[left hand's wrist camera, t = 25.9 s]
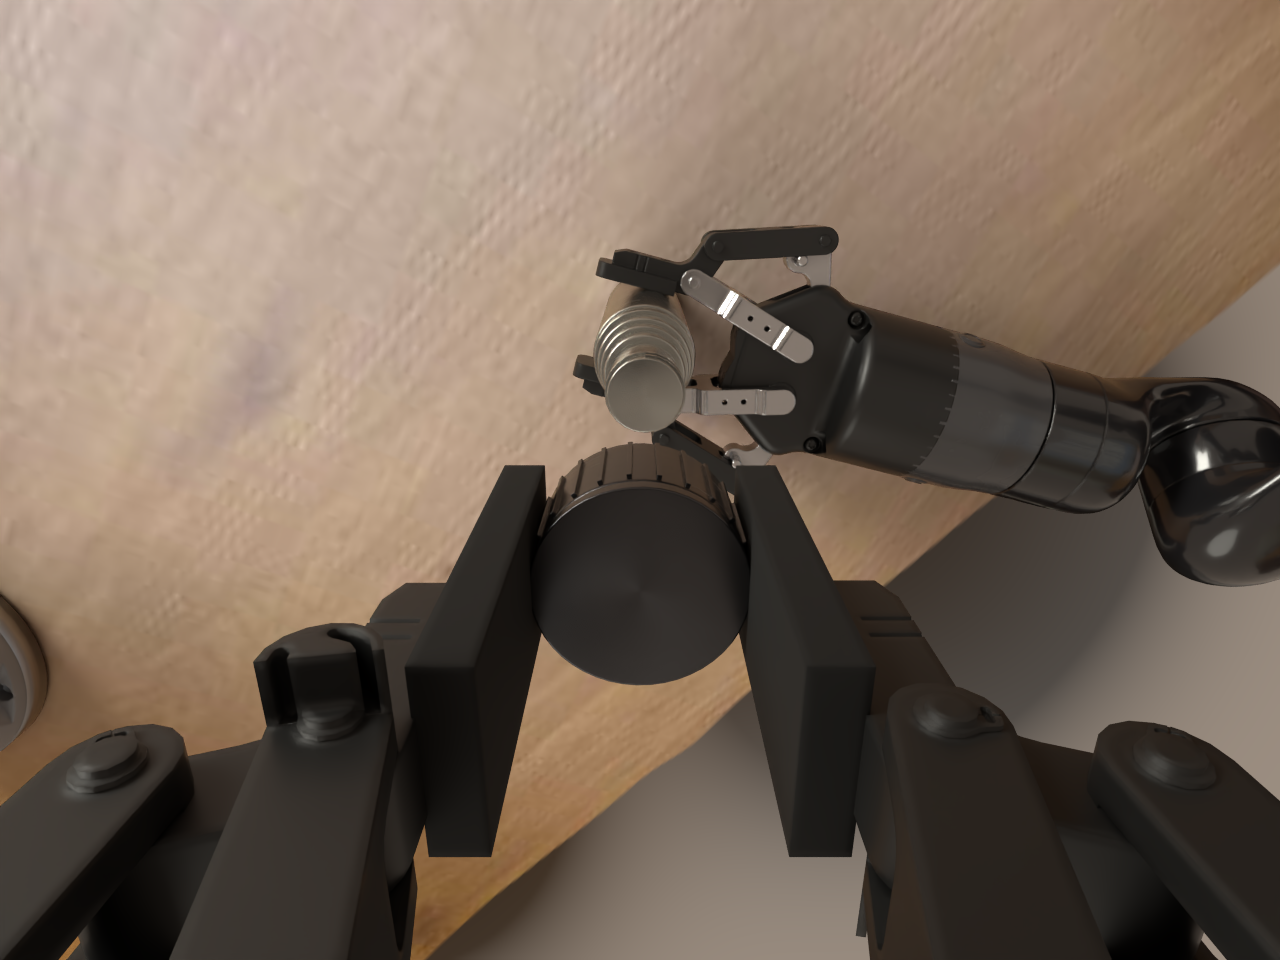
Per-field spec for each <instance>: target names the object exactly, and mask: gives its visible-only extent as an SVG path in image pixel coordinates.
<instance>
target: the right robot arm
mask: <svg viewBox="0 0 1280 960" xmlns="http://www.w3.org/2000/svg"><path fill="white" fill-rule="evenodd" d="M838 242H839V238H838V234H837V232H836V231H835V230H834V229H832V228H830V227H826V226H821V225H802V226H784V227H766V228H748V229H730V230H713V231H709V232H707V233H706V234H705V235H704V236H703V237H702V240H701V243H700V245H699V246H698V248H697V249H696V250H695V252H694V253H693V255H692V256H691V257H690V258H689V259H688V260H686V261H683V262H674V261H670V260H666V259H663V258H659V257H655V256H652V255H648V254H644V253H641V252H637V251H633V250H630V249H621V250H615V252H614V256H613V260H611V259H607V258H600V259H599V262H598V267H597V271H596V275H597V276H599V277H602V278H606V279H609V280H613V281H617V282H621V283H624V284H628V285H632V286H635V287H639V288H643V289H647V290H651V291H656V292H659V293H661V294H665V295H669V296H673V297H674V294H675V292H677V293H681V294H684V295H688V296H690V297H692V298H693V299H695V300H697V301H698V302H700V303H701V304H703V305H705V306H706V307H708V308H710V309H711V310H713V311H714V312H716V313H718V314H719V315H720V316H722V317H723V318H724V319H726V320H728V321H729V322H731V323H732V324H733V328H732V331H731V338H730V351H729V353H728V354H727V356H726V358H725V359H724V361H723V362H722V364H721V367H720V371H719V374H703V375H696V376H693V377H691V379H690V381H689V383H688V385H687V387H686V388H685V390H686V397H685V404H684V406H683V409H682V411H681V413H698V414H700V415H734V416H735V417H736V418H737V419H738V421H739V422H740V423H741V424H742V426H743V427H744V428H745V429H746V431H747V432H748V433H749V434H750V436H751V437H752V438H753V439H754V442H753V443H752V444H750V445H747V446H742V445H739V444H737V443H730V444H727V445H726V446H725V447H724V448H721V447H719V446H718V445H716V444H714V443H713V442H711V441H710V440H708V439H706V438H705V437H703V436H701V435H700V434H698V433H697V432H695V431H693V430H692V429H690V428H688V427H687V426H685V425H684V424H682V423H680V422H679V421H677V420H675V421H674V422H673V423H671V424H670V425H668V426H667V427H666V428H663V429H661V430H658V431H656V432H651V433H652V443H653V444H655V443H660V445H661V446H665V447H669V448H672V449H675V450H678V451H681V450H684V451H685V452H686V454H687V455H689V456H691V457H693V458H694V459H696V460H697V461H699V462H700V463H701V464H704V463H705V464H707V465H708V468H709V470H710V471H711V472H712V473H713V474H714V475H715V477H716V478H717V479H718V480H719V481H720V482H722V481H723V482H724V483H725V486H726V489H727V491H728V492H730V493H731V494H733V495H734V492H735V471H736V465H766V463H767V462H768V460H769V459H770V458H771V456H772V455H783V454H787V453H791V452H806V453H810V454H813V455H817V456H821V457H825V458H829V459H833V460H837V461H841V462H845V463H848V464H852V465H856V466H860V467H864V468H868V469H872V470H876V471H880V472H884V473H888V474H892V475H896V476H900V477H902V478H904V479H905V480H908V481H911V482H915V483H919V484H921V483H928V484H932V485H936V486H940V487H945V488H952V489H960V490H970V491H978V492H983V493H989V494H992V495H996V496H1000V497H1004V498H1008V499H1012V500H1016V501H1019V502H1023V503H1027V504H1031V505H1035V506H1039V507H1043V508H1048V509H1053V510H1058V511H1062V512H1067V513H1074V514H1085V513H1095V512H1100V511H1102V510H1105V509H1108V508H1110V507H1112V506H1113V505H1115V504H1117V503H1118V502H1119V501H1121V500H1122V499H1123V498H1124V497H1125V496H1126V495H1127V494H1128V493H1129V492H1130V491H1131V490H1132V489H1133V488H1134V486H1135V485H1136V483H1137V482H1138V486H1139V489H1140V493H1141V496H1142V499H1143V503H1144V506H1145V510H1146V513H1147V517H1148V520H1149V523H1150V527H1151V530H1152V534H1153V537H1154V540H1155V543H1156V546H1157V548H1158V550H1159V552H1160V554H1161V556H1162V557H1163V559H1164V560H1165V562H1166V563H1167V564H1168V565H1169V566H1170V567H1171V568H1172V569H1173V570H1175V571H1176V572H1178V573H1179V574H1181V575H1183V576H1185V577H1187V578H1189V579H1191V580H1194V581H1198V582H1201V583H1205V584H1210V585H1218V586H1228V587H1238V586H1251V585H1258V584H1264V583H1268V582H1271V581H1275V580H1279V579H1280V408H1279V407H1278V406H1277V405H1276V404H1275V403H1274V402H1273V401H1272V400H1270V399H1269V398H1267V397H1266V396H1265V395H1263V394H1261V393H1260V392H1258V391H1256V390H1254V389H1252V388H1250V387H1248V386H1245V385H1243V384H1240V383H1238V382H1234V381H1231V380H1226V379H1220V378H1207V377H1184V378H1183V377H1182V378H1155V377H1133V378H1102V377H1099V376H1096V375H1093V374H1090V373H1087V372H1083V371H1079V370H1076V369H1072V368H1068V367H1065V366H1061V365H1057V364H1054V363H1050V362H1046V361H1043V360H1039V359H1035V358H1032V357H1029V356H1026V355H1024V354H1021V353H1019V352H1017V351H1014V350H1012V349H1010V348H1008V347H1005V346H1003V345H1001V344H998V343H995V342H992V341H989V340H986V339H982V338H978V337H976V336H974V335H972V334H968V333H960V332H956V331H953V330H949V329H945V328H941V327H938V326H934V325H931V324H927V323H923V322H919V321H916V320H912V319H909V318H905V317H901V316H898V315H894V314H890V313H887V312H883V311H879V310H876V309H872V308H869V307H865V306H861V305H858V304H854V303H851V302H849V301H847V300H846V299H845V298H844V297H843V296H842V295H841V294H840V293H839V292H838V291H837V290H836V289H834V288H833V287H830V282H831V254H832V252H833V251H834V250H835V249H836V247H837V245H838ZM780 257H783V262H784V265H785V266H786V268H787V269H789V270H791V271H793V272H795V273H802V274H803V275H804V276H805V278H806V281H807V285H805V286H802V287H799V288H797V289H794V290H792V291H789V292H787V293H784V294H781V295H779V296H776V297H774V298H771V299H769V300H766V301H763V302H761V303H758V304H757V303H756V302H754V301H752V300H751V299H749V298H748V297H746V296H744V295H743V294H741V293H740V292H738V291H736V290H735V289H733V288H732V287H730V286H728V285H726V284H725V283H723V282H721V281H720V280H718V279H717V278H715V277H713V276H714V274H715V273H716V271H717V270H718V269H719V267H720V266H721V264H722V263H723V261H725V260H743V259H761V258H780ZM573 375H574V376H576V377H578V378H581V379H584V383H583V388H584V389H586V390H587V391H588V392H590V393H591V394H594V395H598V396H603V397H605V390H604V388H603V387H602V385H601V384H600V382H599V380H598V377H597V374H596V371H595V365H594V358H593V357H591V356H587V355H578V357H577V359H576V363H575V367H574V371H573ZM717 386H719V387H717ZM722 401H724V402H722Z"/></svg>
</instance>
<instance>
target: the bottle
mask: <svg viewBox="0 0 1280 960" xmlns="http://www.w3.org/2000/svg"><path fill="white" fill-rule="evenodd" d="M593 358H594V365H595V371H596V374H597V377H598V380H599V382H600V384H601V385H602V387H603V388H604V390H605V400H606V405H607V407H608V409H609V411H610V413H611V415H612V416H613V417H614V418H615V420H616V421H617V422H618V423H620V424H621V425H623V426H624V427H625V428H628V429H630V430H633V431H636V432H644V433H648V432H656V431H658V430H661V429H663V428H666V427H667V426H668V425H670V424H671V423H673V422H674V421H675V420H676V418H677V417H678V416H679V415H680V413H681V411H682V409H683V406H684V404H685V397H686V390H685V388H686V387H687V385H688V383H689V381H690V379H691V377H692V374H693V370H694V364H695V346H694V342H693V338H692V335H691V333H690V330H689V327H688V324H687V322H686V319H685V316H684V313H683V310H682V308H681V305H680V302H679V299H678V297H677V295H676V293H675V294H674V297H673V296H669V295H665V294H661V293H659V292H656V291H651V290H647V289H643V288H639V287H635V286H632V285H628V284H624V283H619V284H618V285H617V286H616V287H615V289H614V290H613V291H612V293H611V295H610V297H609V299H608V303H607V306H606V309H605V312H604V315H603V318H602V322H601V325H600V328H599V331H598V334H597V337H596V341H595V345H594V353H593Z"/></svg>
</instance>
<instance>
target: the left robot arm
mask: <svg viewBox="0 0 1280 960" xmlns="http://www.w3.org/2000/svg"><path fill="white" fill-rule="evenodd" d="M734 503H735V505H736V508H737V511H738V514H739V518H740V521H741V524H742V527H743V531H744V534H745V537H746V540H747V544H748V545H747V546H745V550H746V553H747V556H748V560H749V564H750V567H751V574H750V592H749V608H748V614H747V617H746V620H745V622H744V624H743V626H742V628H741V630H740V632H739V635H740V640H741V644H742V649H743V653H744V657H745V662H746V666H747V671H748V675H749V680H750V684H751V689H752V693H753V698H754V702H755V706H756V711H757V715H758V719H759V724H760V729H761V733H762V738H763V742H764V746H765V751H766V755H767V760H768V764H769V769H770V773H771V778H772V782H773V786H774V791H775V795H776V800H777V804H778V809H779V813H780V818H781V822H782V827H783V831H784V835H785V840H786V844H787V849H788V853H789V857H852V850H853V842H854V834H855V827H856V822H857V825H858V828H859V831H860V834H861V837H862V840H863V842H864V845H865V848H866V851H867V860H866V867H865V874H864V881H863V888H862V895H861V903H860V910H859V917H858V924H857V931H856V936H861V937H866V933H867V935H868V944H869V954H870V960H1218V959H1217V958H1216V957H1215V956H1214V955H1213V954H1212V953H1211V951H1210V950H1209V949H1208V948H1207V947H1206V945H1205V944H1204V943H1203V942H1202V940H1201V939H1202V936H1203V933H1205V934H1206V935H1207V936H1208V938H1209V939H1210V940H1211V941H1212V942H1213V944H1214V945H1215V946H1216V947H1217V949H1218V950H1219V951H1220V952H1221V953H1222V955H1223V956H1224V957H1225V958H1226V959H1227V960H1280V801H1279V800H1278V799H1277V798H1276V797H1275V796H1274V795H1272V794H1271V793H1270V792H1269V791H1268V790H1267V789H1266V788H1265V787H1263V786H1262V785H1261V784H1260V783H1259V782H1258V781H1257V780H1255V779H1254V778H1253V777H1252V776H1251V775H1250V774H1249V773H1248V772H1246V771H1245V770H1244V769H1243V768H1242V767H1241V766H1240V765H1239V764H1237V763H1236V762H1235V761H1234V760H1232V759H1231V758H1230V757H1228V756H1227V755H1225V754H1224V753H1223V752H1221V751H1220V750H1218V749H1217V748H1215V747H1214V746H1213V745H1211V744H1209V743H1207V742H1205V741H1203V740H1201V739H1199V738H1197V737H1194V736H1192V735H1190V734H1188V733H1187V732H1184V731H1182V730H1179V729H1176V728H1173V727H1167V726H1165V725H1160V724H1156V723H1148V722H1136V721H1125V722H1120V723H1115V724H1110V725H1108V726H1107V727H1106V728H1105V729H1104V730H1103V731H1102V732H1100V733H1099V734H1098V738H1097V742H1096V746H1095V750H1094V753H1090V752H1085V751H1080V750H1075V749H1071V748H1066V747H1061V746H1056V745H1051V744H1047V743H1042V742H1038V741H1035V740H1031V739H1027V738H1024V737H1020V736H1018V735H1017V733H1016V731H1015V729H1014V726H1013V725H1012V723H1011V722H1010V721H1009V719H1008V718H1007V716H1006V715H1005V714H1004V712H1003V711H1002V710H1001V709H999V708H998V707H997V706H995V705H994V704H992V703H991V702H990V701H988V700H987V699H986V698H984V697H982V696H980V695H977V694H975V693H973V692H970V691H968V690H966V689H963V688H960V687H956V686H955V684H954V683H953V681H952V680H951V678H950V676H949V675H948V673H947V672H946V670H945V669H944V667H943V666H942V664H941V663H940V661H939V659H938V658H937V656H936V655H935V653H934V652H933V650H932V648H931V647H930V645H929V644H928V642H927V641H926V639H925V638H924V637H922V636H921V631H920V630H919V628H918V627H917V625H916V624H915V622H914V621H913V620H911V616H910V614H909V613H908V611H907V610H906V608H905V606H904V605H903V603H902V602H901V600H900V599H899V597H898V596H896V595H895V594H893V593H892V592H890V591H889V590H887V589H886V588H885V587H883V586H882V585H880V584H879V583H877V582H876V581H833V579H832V577H831V575H830V573H829V571H828V569H827V567H826V565H825V563H824V561H823V559H822V557H821V555H820V553H819V551H818V549H817V547H816V545H815V543H814V541H813V539H812V537H811V535H810V533H809V531H808V529H807V527H806V525H805V523H804V521H803V519H802V517H801V515H800V513H799V511H798V509H797V507H796V505H795V503H794V501H793V499H792V497H791V495H790V493H789V491H788V489H787V487H786V485H785V483H784V481H783V479H782V477H781V475H780V473H779V471H778V469H777V467H776V465H736V471H735V492H734ZM545 505H546V482H545V465H505V466H504V468H503V470H502V472H501V474H500V476H499V478H498V480H497V482H496V484H495V486H494V488H493V490H492V492H491V494H490V496H489V498H488V500H487V502H486V504H485V506H484V508H483V510H482V512H481V514H480V516H479V518H478V520H477V522H476V524H475V526H474V528H473V530H472V532H471V534H470V536H469V538H468V540H467V542H466V544H465V546H464V548H463V550H462V552H461V554H460V556H459V558H458V560H457V562H456V564H455V566H454V568H453V570H452V572H451V574H450V576H449V578H448V580H447V582H446V583H405V584H404V585H403V586H401V587H400V588H398V589H397V590H395V591H394V592H393V593H391V594H390V595H388V596H387V597H385V598H384V599H382V601H381V602H380V604H379V606H378V607H377V609H376V610H375V612H374V613H373V615H372V617H371V618H370V623H367V624H366V626H362V625H358V624H354V623H330V624H325V625H319V626H314V627H308V628H305V629H302V630H300V631H297V632H294V633H292V634H289V635H286V636H284V637H282V638H281V639H279V640H277V641H276V642H274V643H273V644H271V645H269V646H268V647H266V648H265V649H264V650H263V651H262V652H261V654H260V655H259V656H258V657H257V658H256V659H255V661H254V662H253V664H254V668H255V673H256V678H257V683H258V687H259V692H260V697H261V701H262V706H263V711H264V715H265V720H266V725H267V728H266V730H265V732H264V735H263V737H262V739H261V740H258V741H254V742H250V743H247V744H243V745H240V746H235V747H230V748H225V749H221V750H216V751H211V752H206V753H202V754H197V755H192V756H188V755H187V751H186V747H185V743H184V740H183V737H182V736H181V735H180V734H178V733H177V732H176V731H175V730H174V729H173V728H170V727H165V726H160V725H155V724H148V725H136V726H127V727H123V728H118V729H115V730H112V731H111V730H110V731H107V732H104V733H101V734H98V735H96V736H94V737H92V738H90V739H88V740H86V741H84V742H81V743H79V744H77V745H75V746H73V747H71V748H70V749H68V750H67V751H65V752H64V753H63V754H61V755H60V756H58V757H57V758H55V759H54V760H53V761H51V762H50V763H48V764H47V765H46V766H45V767H44V768H43V769H42V770H40V771H39V772H38V773H37V774H36V775H35V776H34V777H33V778H31V779H30V780H29V781H28V782H27V783H26V784H25V785H24V786H22V787H21V788H20V789H19V790H18V791H17V792H16V793H15V794H14V795H12V796H11V797H10V798H9V799H8V800H7V801H6V802H5V803H3V804H2V805H1V806H0V960H59V958H60V957H61V956H62V955H63V954H64V952H65V951H66V950H67V949H68V947H69V946H70V945H71V944H72V943H73V941H74V940H75V939H76V938H77V936H78V937H79V940H80V944H79V945H78V947H77V948H76V949H75V950H74V951H73V953H72V954H71V955H70V956H69V958H68V959H66V960H410V955H411V946H412V936H413V927H414V917H415V908H416V898H417V881H416V874H415V867H414V860H413V857H414V854H415V851H416V848H417V845H418V842H419V839H420V836H421V833H422V830H423V827H424V825H425V831H426V838H427V846H428V854H429V857H491V855H492V851H493V847H494V842H495V838H496V833H497V829H498V824H499V820H500V815H501V811H502V806H503V802H504V798H505V793H506V789H507V784H508V780H509V775H510V771H511V766H512V762H513V758H514V753H515V749H516V744H517V740H518V735H519V731H520V726H521V722H522V717H523V713H524V709H525V704H526V700H527V695H528V691H529V686H530V682H531V677H532V673H533V669H534V664H535V660H536V655H537V651H538V646H539V642H540V637H541V633H542V632H541V630H540V629H539V627H538V625H537V623H536V620H535V618H534V615H533V613H532V601H531V583H530V566H531V562H532V558H533V555H534V551H535V548H536V545H537V541H538V539H535V537H536V534H537V531H538V528H539V524H540V521H541V518H542V514H543V511H544V508H545ZM46 692H47V671H46V666H45V662H44V658H43V655H42V652H41V650H40V647H39V645H38V643H37V641H36V639H35V637H34V635H33V634H32V632H31V631H30V629H29V627H28V626H27V624H26V623H25V622H24V621H23V619H22V618H21V617H20V615H19V614H18V613H17V612H16V611H15V610H14V609H13V608H12V607H11V606H10V605H9V604H8V603H7V602H6V601H5V600H4V599H3V598H2V597H1V596H0V751H2V750H3V749H4V748H5V747H7V746H8V745H9V744H10V743H11V742H12V741H14V740H15V739H16V738H17V737H18V736H19V735H20V734H22V733H23V732H24V731H25V730H26V729H27V728H29V726H30V725H31V724H32V723H33V722H34V721H35V719H36V718H37V716H38V715H39V713H40V711H41V709H42V707H43V704H44V701H45V698H46Z"/></svg>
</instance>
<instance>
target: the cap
mask: <svg viewBox="0 0 1280 960" xmlns="http://www.w3.org/2000/svg"><path fill="white" fill-rule="evenodd" d="M535 539H538V541H537V545H536V548H535V551H534V555H533V558H532V562H531V566H530V583H531V601H532V613H533V615H534V618H535V620H536V623H537V625H538V627H539V629H540V630H541V632H542V634H543V636H544V637H545V638H546V640H547V641H548V642H549V644H550V645H551V646H552V647H553V648H554V649H555V650H556V651H557V652H558V653H559V654H560V655H561V656H562V657H563V658H564V659H565V660H567V661H568V662H569V663H571V664H572V665H574V666H575V667H577V668H579V669H580V670H582V671H584V672H586V673H588V674H590V675H592V676H595V677H597V678H600V679H604V680H607V681H610V682H615V683H620V684H629V685H653V684H660V683H666V682H670V681H674V680H678V679H680V678H683V677H686V676H688V675H691V674H693V673H695V672H697V671H699V670H701V669H702V668H704V667H705V666H707V665H708V664H710V663H711V662H713V661H714V660H715V659H716V658H718V657H719V656H720V655H721V654H722V653H723V652H724V651H725V650H726V649H727V648H728V647H729V646H730V644H731V643H732V642H733V641H734V639H735V638H736V636H737V635H738V633H739V632H740V630H741V628H742V626H743V624H744V622H745V620H746V617H747V614H748V608H749V592H750V574H751V567H750V564H749V560H748V556H747V553H746V550H745V546H747V545H748V544H747V540H746V537H745V534H744V531H743V527H742V524H741V521H740V518H739V514H738V511H737V508H736V505H735V503H731V501H730V499H729V496H728V493H727V489H726V486H725V483H724V482H723V481H722V482H720V481H719V480H718V479H717V478H716V477H715V475H714V474H713V473H712V472H711V471H710V470H709V468H708V465H707V464H705V463H704V464H701V463H700V462H699V461H697V460H696V459H694V458H693V457H691V456H689V455H687V454H686V452H685V451H684V450H681V451H678V450H675V449H672V448H669V447H665V446H661V445H660V443H655V444H645V443H641V444H633V442H628V444H626V445H620V446H615V447H612V448H608V449H606V447H605V448H602V450H601V451H600V452H598V453H596V454H593V455H592V456H590V457H588V458H587V459H585V460H582V459H581V460H579V461H578V465H577V466H575V467H574V468H573V469H572V470H571V471H570V472H569V473H568V474H567V475H566V476H565V477H563V476H561V478H560V479H559V483H558V486H557V488H556V490H555V492H554V493H553V495H552V497H548V499H547V501H546V505H545V508H544V511H543V514H542V518H541V521H540V524H539V528H538V531H537V534H536V537H535Z"/></svg>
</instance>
